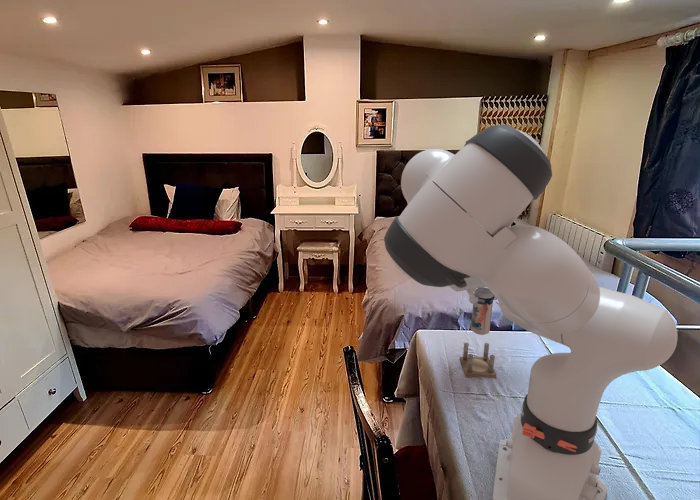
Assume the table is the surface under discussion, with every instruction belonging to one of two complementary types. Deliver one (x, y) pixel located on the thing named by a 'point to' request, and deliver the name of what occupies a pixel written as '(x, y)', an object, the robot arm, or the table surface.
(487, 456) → the table surface
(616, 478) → the table surface
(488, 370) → the holder
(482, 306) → the beer can
